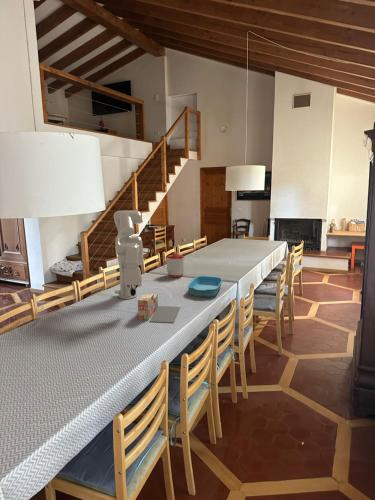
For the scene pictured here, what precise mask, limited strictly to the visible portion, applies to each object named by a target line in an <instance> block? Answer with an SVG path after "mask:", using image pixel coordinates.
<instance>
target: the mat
mask: <svg viewBox="0 0 375 500" xmlns="http://www.w3.org/2000/svg"><path fill="white" fill-rule="evenodd" d="M180 310H181V306H170V305H169V306H168V305H158V308H157V310H156V311H155V312H154V314H153V315H152V316H151V318H150V319H149V322H150V323H161V324H163V323H164V324H166V323H167V324H174V323H175V322H176V319H177V317H178V313H179V312H180Z"/></svg>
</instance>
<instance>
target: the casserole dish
mask: <svg viewBox="0 0 375 500" xmlns="http://www.w3.org/2000/svg"><path fill="white" fill-rule="evenodd" d="M222 283H223V278H222V277H218V276H214V275H197V276H195V277H194V278H193V279H192V280H191V281H190V282H189V283H188V284H187V289H188V292H189V293H190V295H191V296H193V295H194V297H204V298H205V297H206V298H211V297H215V296H216V295H217V294H218V292H219V290H220V288H221V286H222Z"/></svg>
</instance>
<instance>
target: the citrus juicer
mask: <svg viewBox="0 0 375 500" xmlns="http://www.w3.org/2000/svg"><path fill="white" fill-rule="evenodd" d="M185 257H186V256H184V255H182V254H181V255H180V254H178V253H176V252H175V253H173V254H171V255H167V257H166V258H165V259H166V260H165V261H164V263H165V264H166V272H167V276H168V277H169V278H181V277H183V276H184V273H185V272H184V271H185Z"/></svg>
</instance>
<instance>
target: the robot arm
mask: <svg viewBox="0 0 375 500" xmlns="http://www.w3.org/2000/svg"><path fill="white" fill-rule="evenodd" d="M113 220H114V221H113V222H114V224H115V226H116V230H117V236H116V237H115V241H114V243H115V252H116V254H117V262H118V268H119V269H118V270H119V286H120V287H119V288H120V289H117V290H116V289H115V290H114V294H118V295H117V296H118V298H119V299H121V300H122V299H123V300H130V299H135V298H136V297H137V288H139V287H142V286H143V285H142V272H141V267H139V266H141V265H143V264H144V248H143V247H144V246H143V240H142V237H141V236H138V235H133V234H135V225H140V224H141V223H142V222H143V221H142V220H143V215H142V214H141V211H139V210H137V209H135V210H131V209H129V210H118V211H117V210H116V211H115V212H114V213H113Z"/></svg>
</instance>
